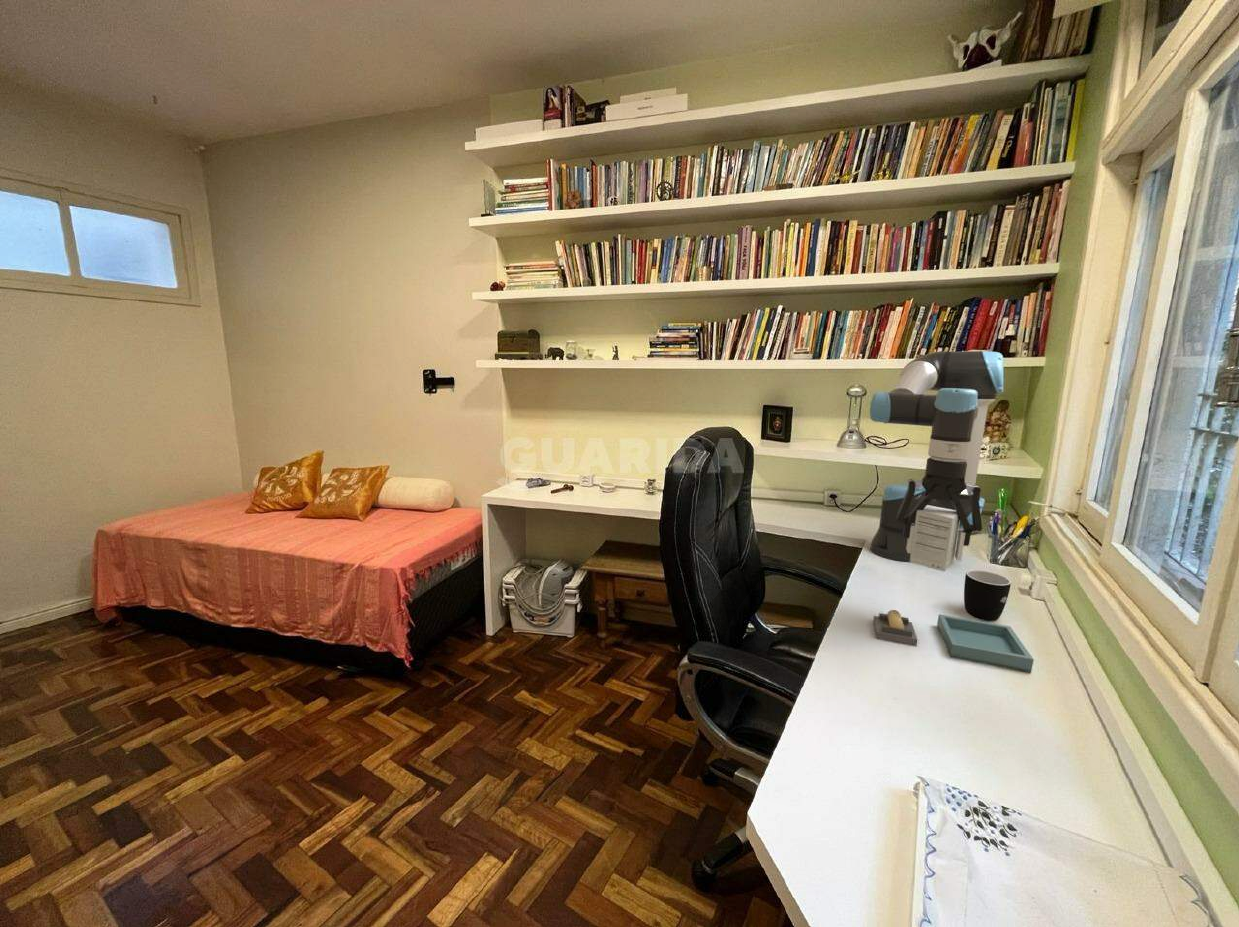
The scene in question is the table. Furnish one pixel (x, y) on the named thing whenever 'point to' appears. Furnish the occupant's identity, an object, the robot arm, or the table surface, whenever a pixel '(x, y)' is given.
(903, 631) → the fuse block
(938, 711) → the table surface
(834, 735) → the table surface
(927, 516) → the supplement box
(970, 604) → the mug
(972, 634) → the parts tray
